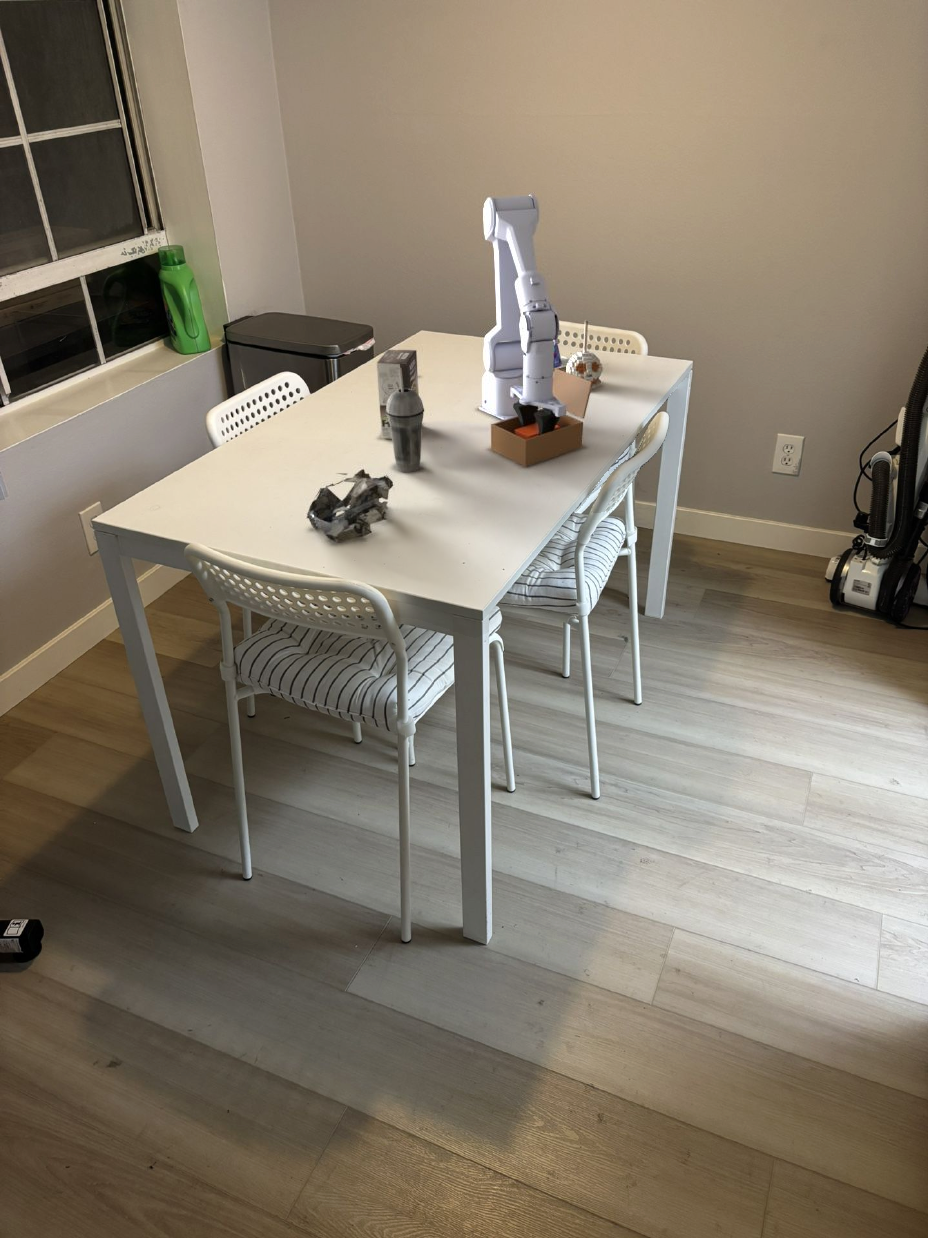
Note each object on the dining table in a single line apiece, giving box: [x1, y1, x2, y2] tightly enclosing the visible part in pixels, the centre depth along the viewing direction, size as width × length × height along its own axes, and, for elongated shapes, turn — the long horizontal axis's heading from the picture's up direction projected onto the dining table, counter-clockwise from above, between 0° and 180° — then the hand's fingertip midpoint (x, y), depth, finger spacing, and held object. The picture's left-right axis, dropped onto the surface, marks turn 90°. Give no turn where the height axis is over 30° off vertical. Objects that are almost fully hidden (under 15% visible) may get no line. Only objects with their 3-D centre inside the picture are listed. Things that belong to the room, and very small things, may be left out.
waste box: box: [490, 408, 584, 468], centre depth 190 cm, size 15×11×5 cm
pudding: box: [553, 341, 570, 370], centre depth 233 cm, size 12×12×5 cm
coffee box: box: [376, 349, 420, 440], centre depth 196 cm, size 9×6×16 cm
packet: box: [515, 423, 559, 440], centre depth 190 cm, size 4×8×4 cm, turn 127°
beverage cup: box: [386, 368, 425, 473], centre depth 180 cm, size 7×7×20 cm
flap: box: [552, 368, 593, 420], centre depth 190 cm, size 7×11×1 cm
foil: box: [306, 468, 394, 544], centre depth 164 cm, size 12×11×15 cm
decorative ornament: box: [565, 319, 604, 390], centre depth 217 cm, size 8×8×15 cm
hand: (536, 440), depth 190 cm, fingers closed on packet, 4 cm apart
